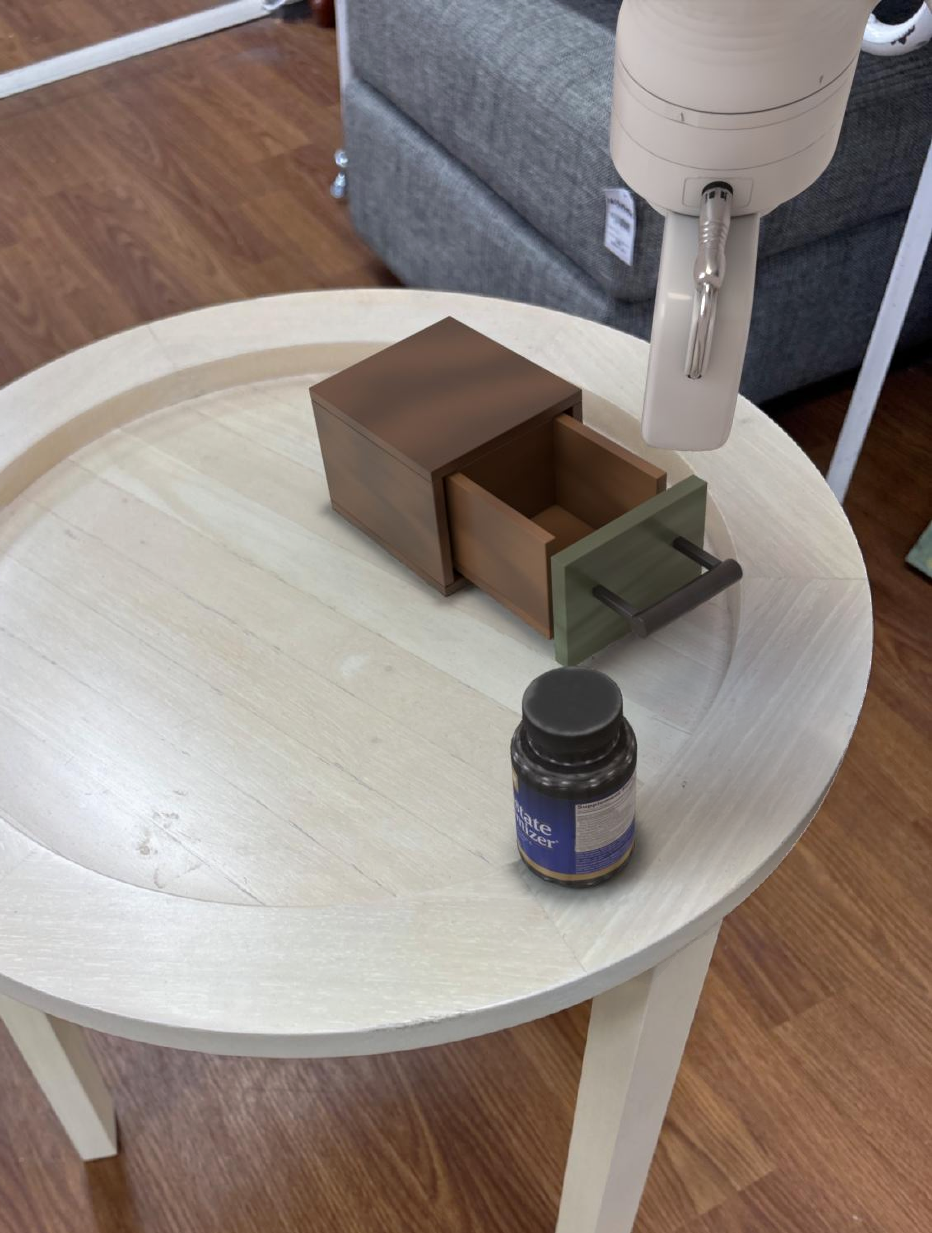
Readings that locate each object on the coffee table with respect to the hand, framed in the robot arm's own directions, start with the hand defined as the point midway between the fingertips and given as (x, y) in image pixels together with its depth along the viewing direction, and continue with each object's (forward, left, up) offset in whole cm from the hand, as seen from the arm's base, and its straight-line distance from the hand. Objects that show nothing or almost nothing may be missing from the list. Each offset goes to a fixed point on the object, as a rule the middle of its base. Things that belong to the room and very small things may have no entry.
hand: (688, 356), depth 63 cm
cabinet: (+1, -20, -19) cm, 28 cm away
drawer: (+1, -6, -18) cm, 19 cm away
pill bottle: (+14, +8, -19) cm, 25 cm away
